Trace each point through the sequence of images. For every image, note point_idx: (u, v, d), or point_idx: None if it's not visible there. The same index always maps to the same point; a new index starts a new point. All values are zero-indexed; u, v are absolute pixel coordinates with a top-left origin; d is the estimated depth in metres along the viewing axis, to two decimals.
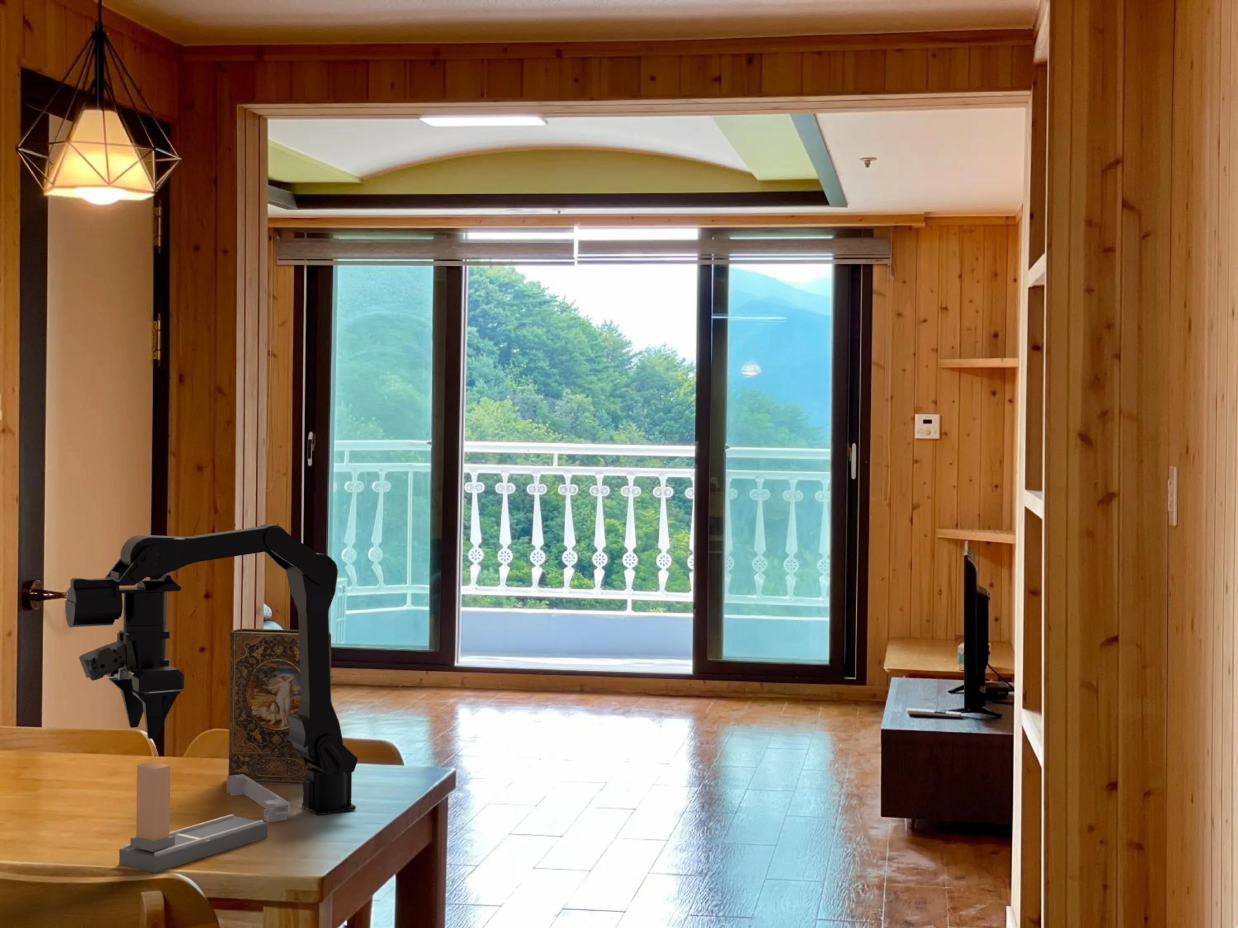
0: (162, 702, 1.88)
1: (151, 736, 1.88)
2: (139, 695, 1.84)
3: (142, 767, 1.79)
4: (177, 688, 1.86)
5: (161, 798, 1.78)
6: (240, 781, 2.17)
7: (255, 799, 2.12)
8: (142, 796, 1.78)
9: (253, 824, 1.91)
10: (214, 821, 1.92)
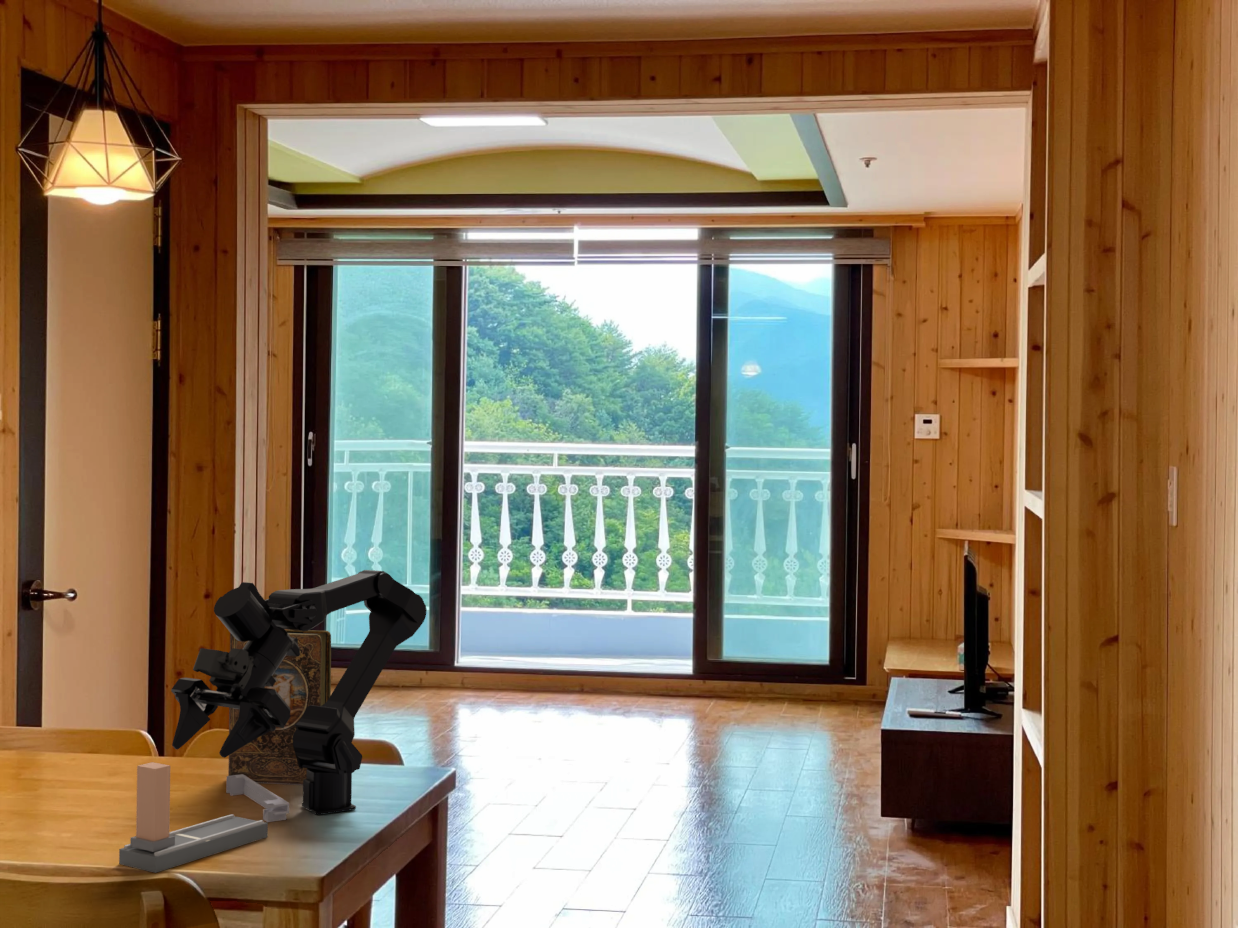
0: (252, 729, 1.86)
1: (223, 753, 1.83)
2: (254, 706, 1.84)
3: (142, 767, 1.79)
4: (283, 722, 1.87)
5: (161, 798, 1.78)
6: (240, 781, 2.17)
7: (255, 799, 2.12)
8: (142, 796, 1.78)
9: (253, 824, 1.91)
10: (214, 821, 1.92)
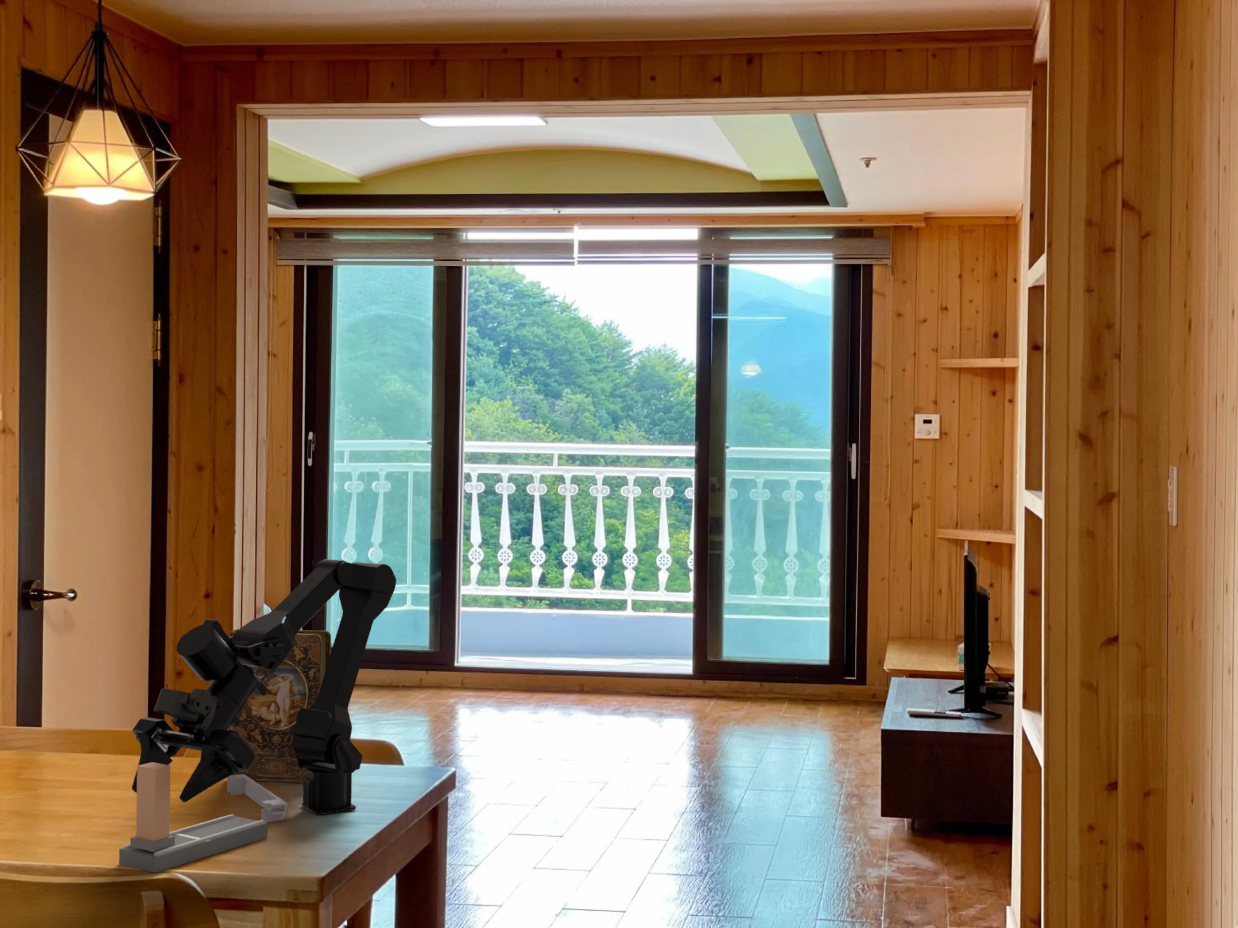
0: (214, 773, 1.81)
1: (184, 797, 1.77)
2: (216, 748, 1.78)
3: (142, 767, 1.79)
4: (246, 765, 1.81)
5: (161, 798, 1.78)
6: (240, 781, 2.17)
7: (254, 799, 2.13)
8: (142, 796, 1.78)
9: (253, 824, 1.91)
10: (214, 821, 1.92)
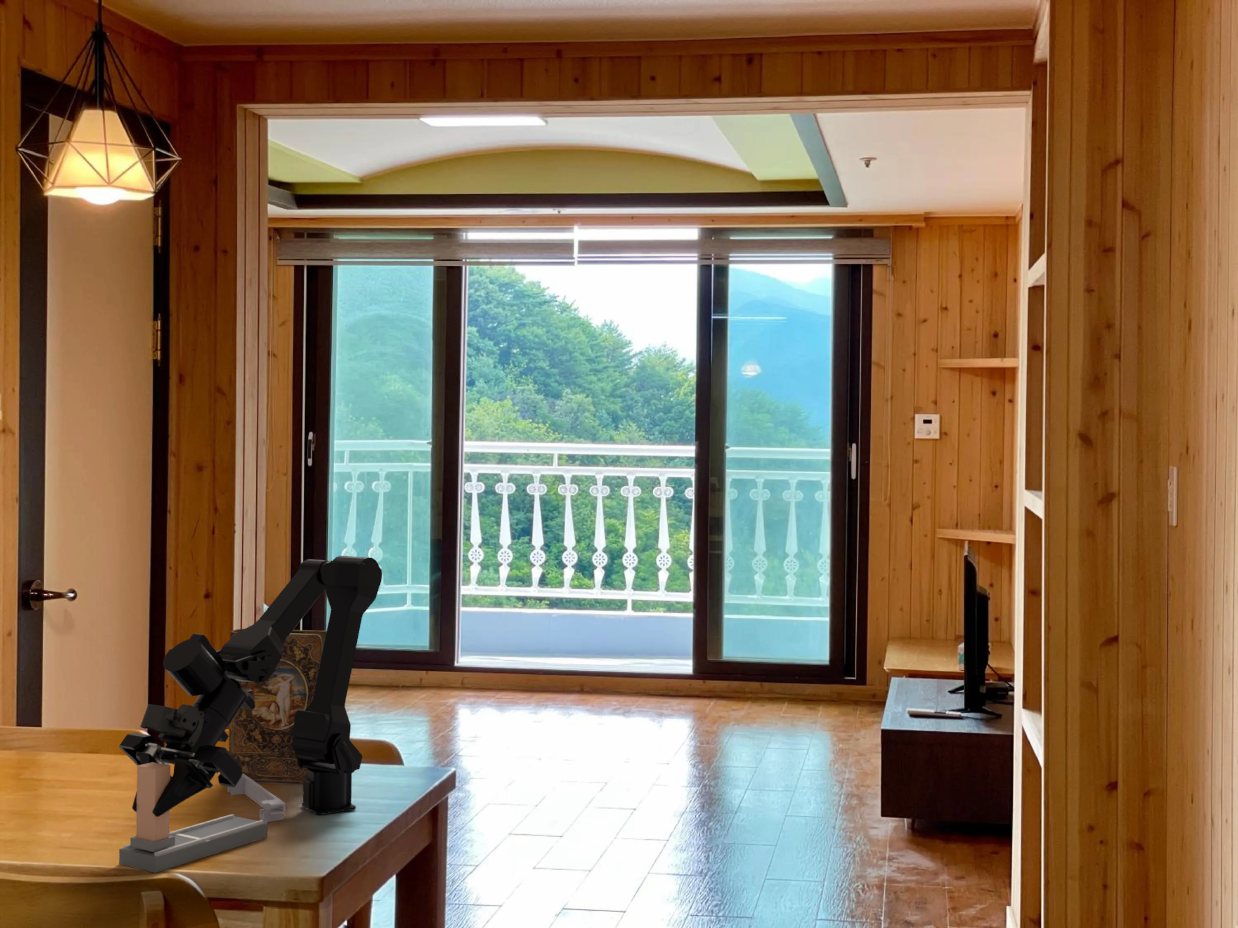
0: (188, 786, 1.80)
1: (157, 812, 1.77)
2: (189, 763, 1.78)
3: (142, 767, 1.79)
4: (234, 782, 1.79)
5: None
6: (240, 781, 2.17)
7: (254, 799, 2.13)
8: (142, 796, 1.78)
9: (253, 824, 1.91)
10: (214, 821, 1.92)
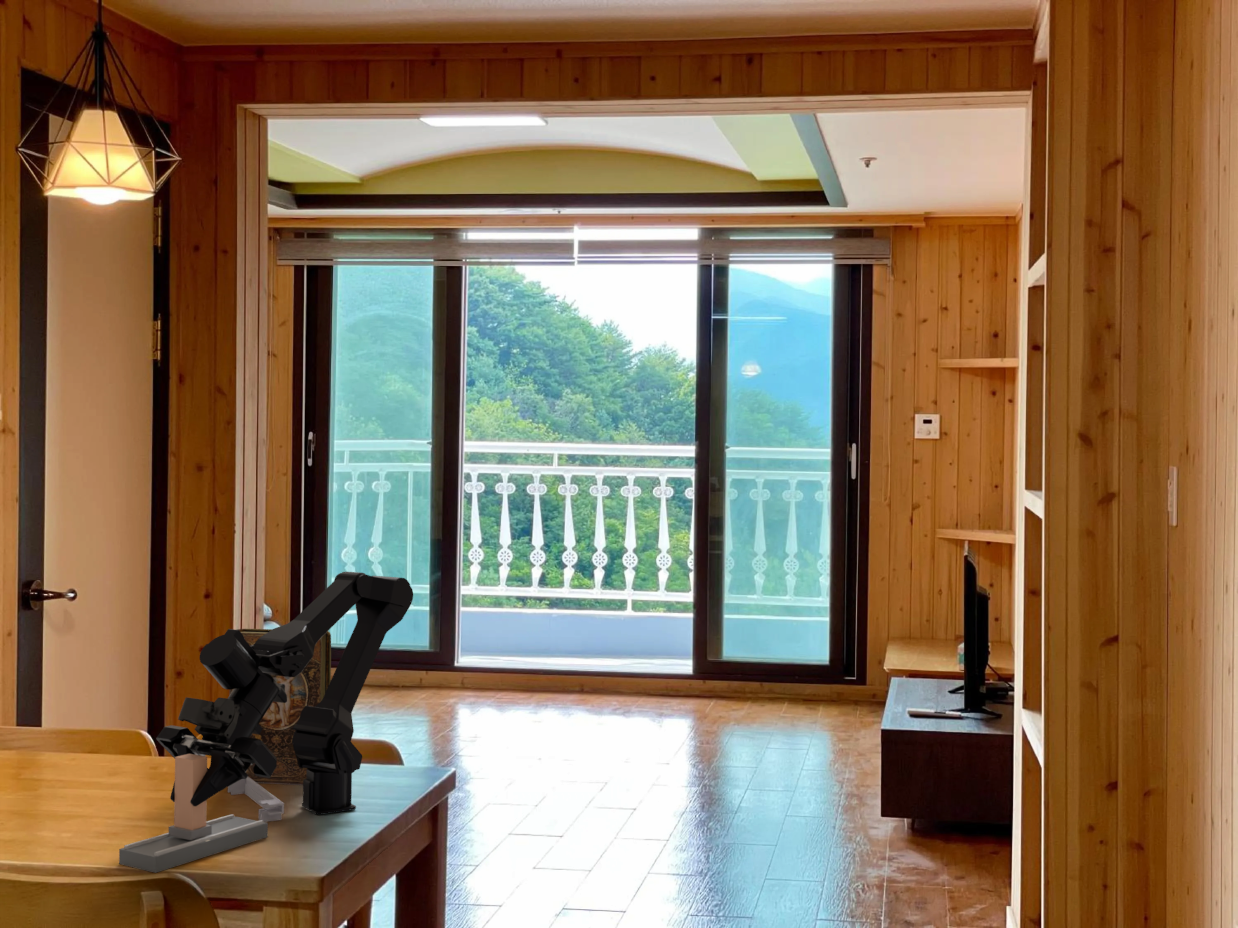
0: (224, 777, 1.86)
1: (194, 802, 1.83)
2: (226, 754, 1.83)
3: (180, 758, 1.84)
4: (269, 773, 1.85)
5: None
6: (241, 781, 2.17)
7: (254, 799, 2.13)
8: (180, 786, 1.84)
9: (253, 824, 1.91)
10: (214, 821, 1.92)
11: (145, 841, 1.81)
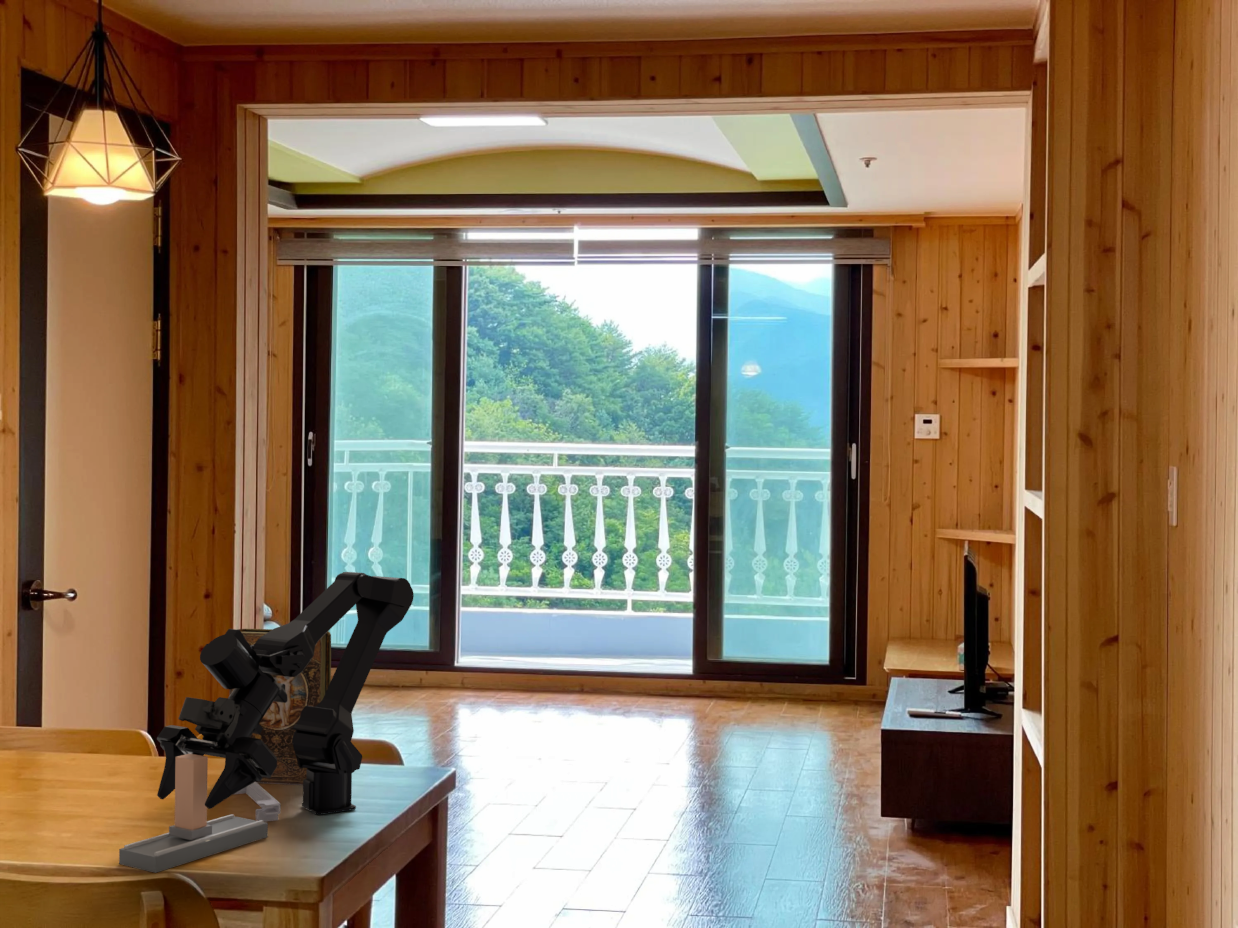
0: (238, 780, 1.84)
1: (209, 804, 1.81)
2: (240, 756, 1.82)
3: (180, 758, 1.84)
4: (269, 772, 1.85)
5: (199, 788, 1.84)
6: None
7: (254, 799, 2.13)
8: (180, 786, 1.84)
9: (253, 824, 1.91)
10: (214, 821, 1.92)
11: (145, 841, 1.81)
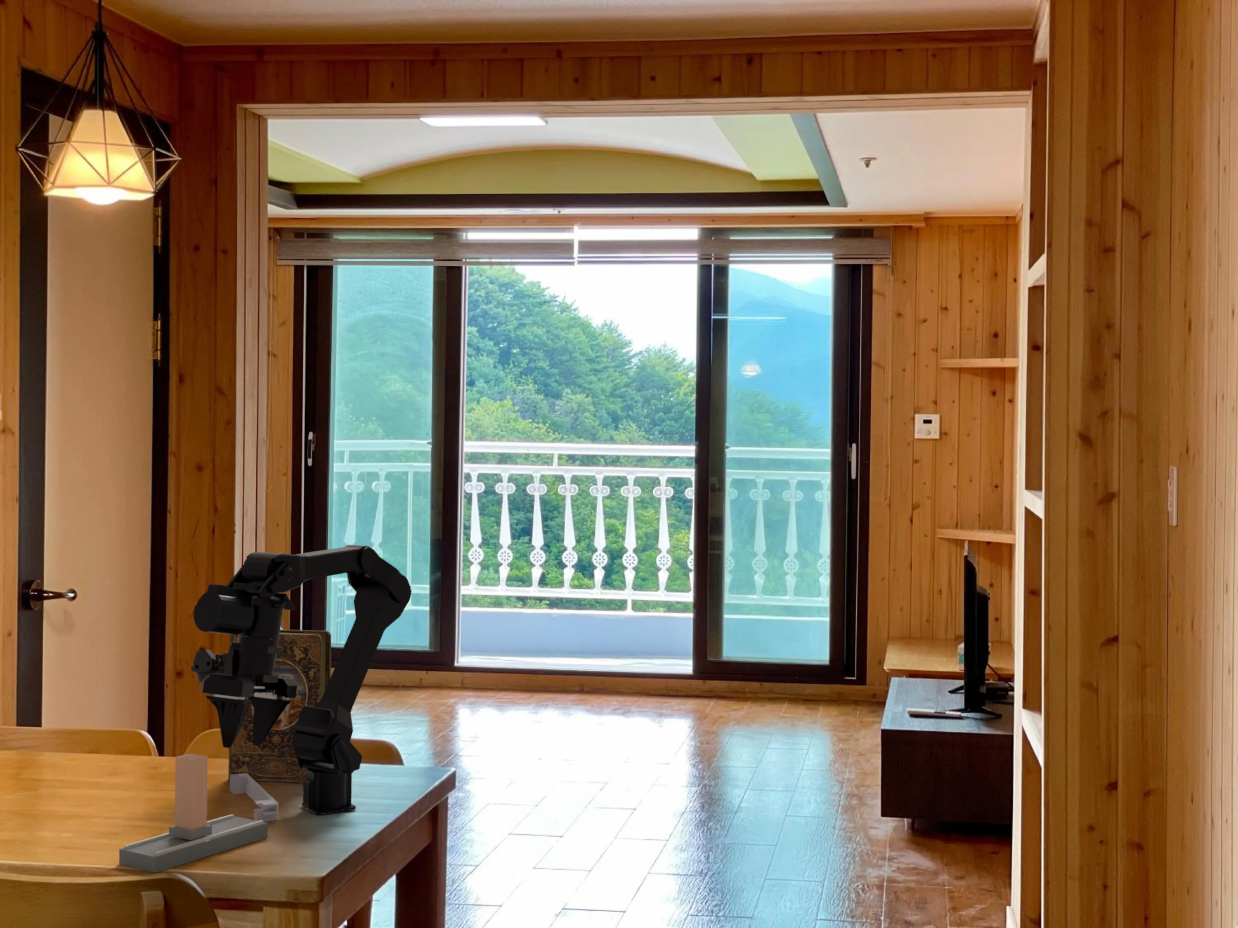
0: (234, 711, 1.89)
1: (225, 745, 1.89)
2: (205, 696, 1.88)
3: (180, 758, 1.84)
4: (232, 695, 1.86)
5: (199, 788, 1.84)
6: (242, 780, 2.17)
7: (254, 798, 2.13)
8: (180, 786, 1.84)
9: (253, 824, 1.91)
10: (214, 821, 1.92)
11: (145, 841, 1.81)
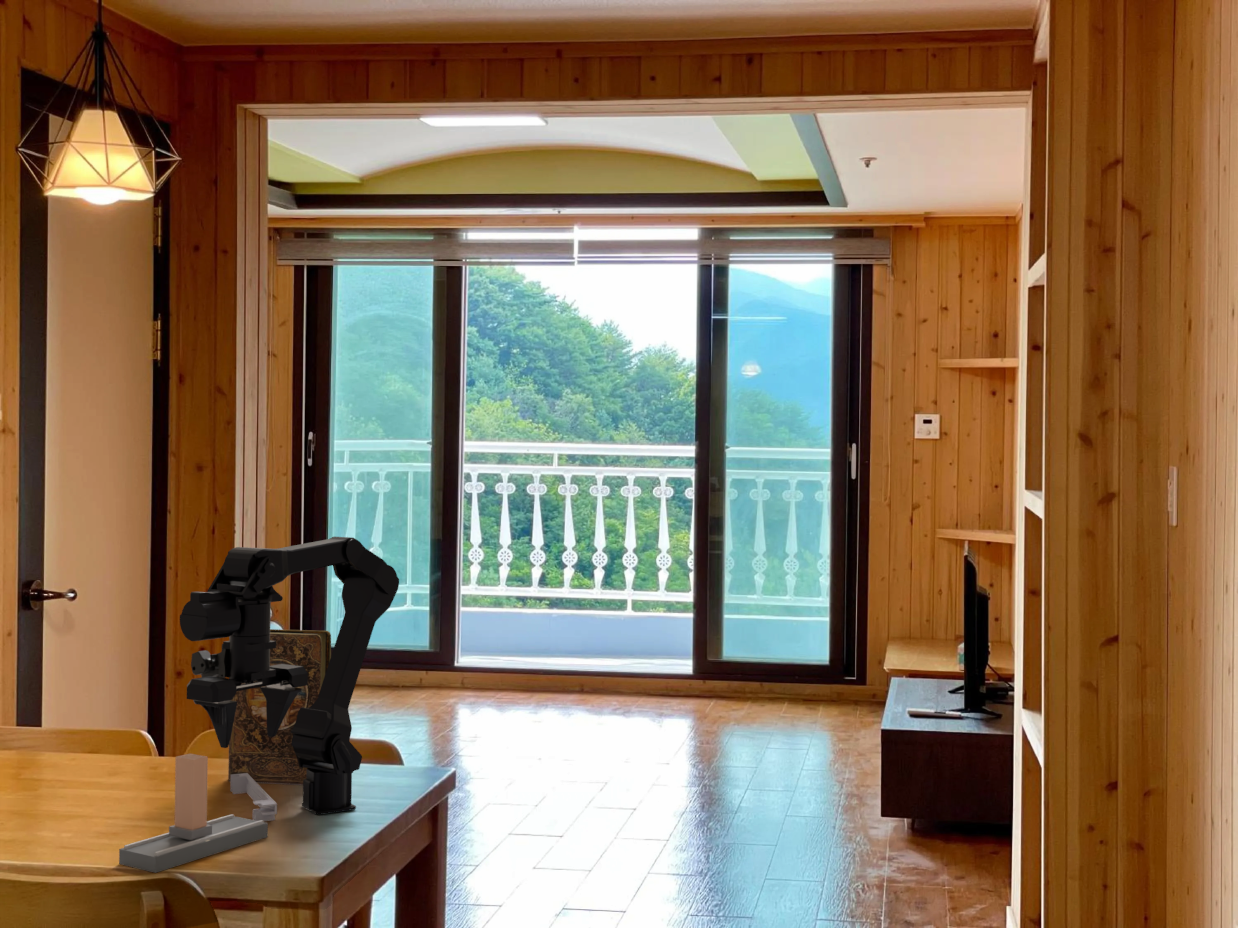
0: None
1: (222, 745, 1.91)
2: (194, 701, 1.90)
3: (180, 758, 1.84)
4: (209, 700, 1.86)
5: (199, 788, 1.84)
6: (242, 780, 2.18)
7: (253, 798, 2.13)
8: (180, 786, 1.84)
9: (253, 824, 1.91)
10: (214, 821, 1.92)
11: (145, 841, 1.81)
